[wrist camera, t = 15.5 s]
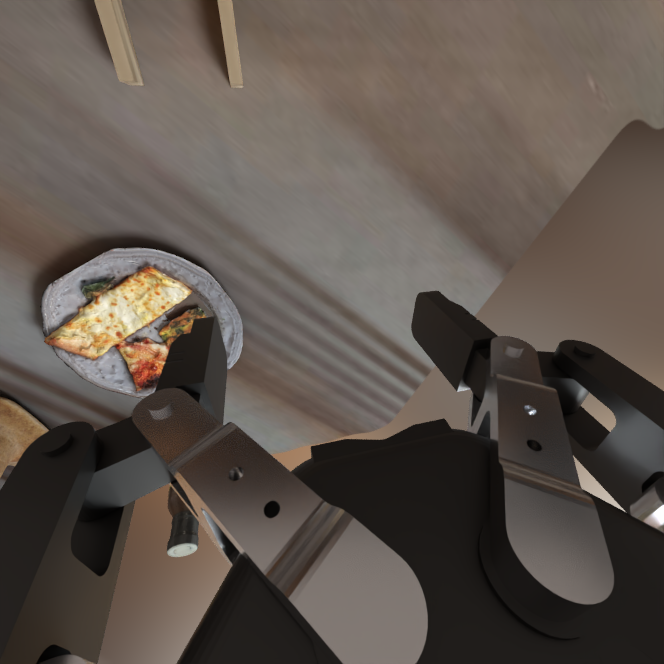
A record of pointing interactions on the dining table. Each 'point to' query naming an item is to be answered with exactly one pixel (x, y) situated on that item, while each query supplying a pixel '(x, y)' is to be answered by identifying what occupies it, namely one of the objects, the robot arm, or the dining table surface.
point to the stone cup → (16, 432)
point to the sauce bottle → (181, 527)
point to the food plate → (131, 316)
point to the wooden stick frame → (124, 49)
